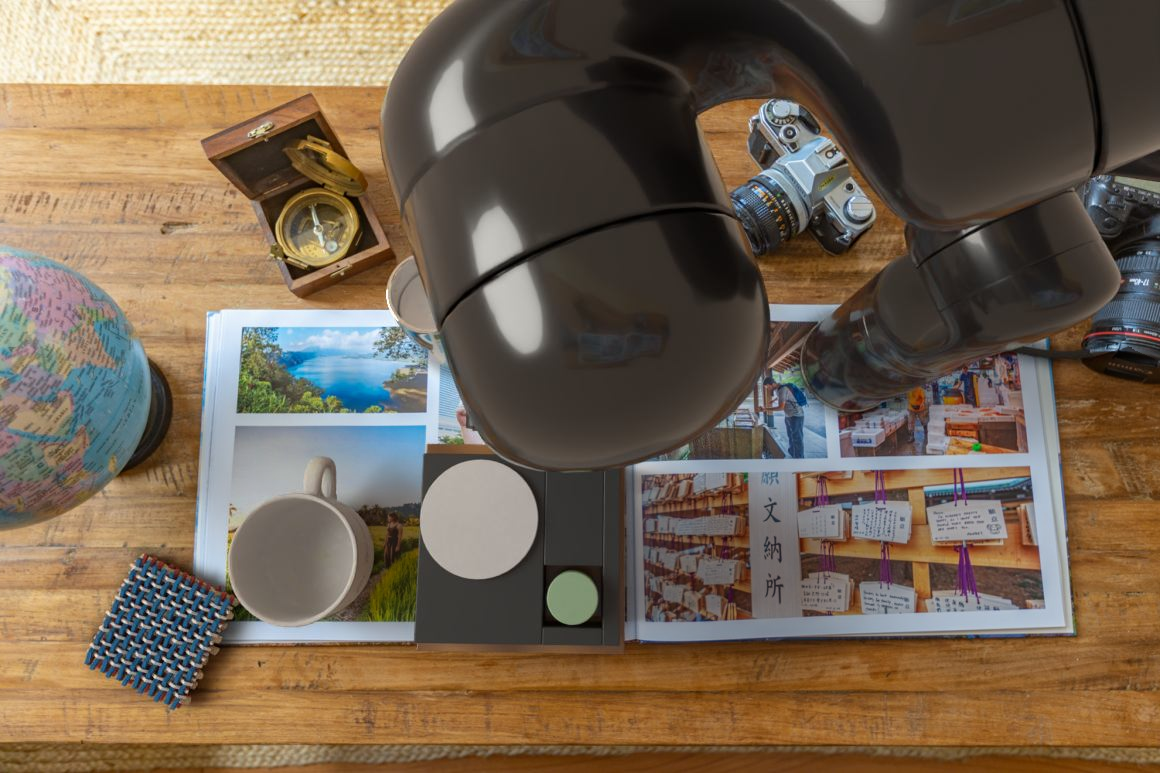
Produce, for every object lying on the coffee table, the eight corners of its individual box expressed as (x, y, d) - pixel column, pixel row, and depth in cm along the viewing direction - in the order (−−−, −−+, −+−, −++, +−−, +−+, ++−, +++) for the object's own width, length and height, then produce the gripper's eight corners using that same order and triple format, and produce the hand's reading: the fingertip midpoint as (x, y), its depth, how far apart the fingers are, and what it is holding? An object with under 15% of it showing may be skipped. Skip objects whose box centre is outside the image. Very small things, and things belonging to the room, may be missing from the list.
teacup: (354, 634, 70) (325, 648, 63) (244, 591, 71) (202, 599, 63) (414, 487, 73) (393, 482, 65) (306, 447, 73) (273, 437, 66)
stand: (615, 466, 73) (625, 446, 55) (614, 622, 70) (624, 654, 53) (464, 464, 73) (426, 443, 55) (458, 620, 71) (416, 651, 53)
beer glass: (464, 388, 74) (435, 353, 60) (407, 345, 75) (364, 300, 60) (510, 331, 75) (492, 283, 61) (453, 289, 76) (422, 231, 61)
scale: (618, 460, 55) (620, 455, 51) (617, 638, 53) (620, 647, 49) (432, 457, 55) (421, 452, 51) (424, 635, 53) (412, 644, 49)
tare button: (597, 569, 52) (598, 572, 49) (597, 620, 51) (598, 625, 48) (549, 569, 52) (547, 571, 49) (548, 619, 51) (546, 624, 49)
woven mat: (247, 596, 71) (237, 598, 69) (190, 709, 69) (178, 715, 67) (146, 548, 72) (134, 548, 70) (87, 659, 70) (72, 663, 68)
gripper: (422, 462, 33) (478, 484, 50) (736, 462, 33) (685, 484, 50) (428, 291, 35) (480, 369, 52) (730, 290, 34) (682, 368, 52)
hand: (582, 425), depth 51 cm, fingers closed
